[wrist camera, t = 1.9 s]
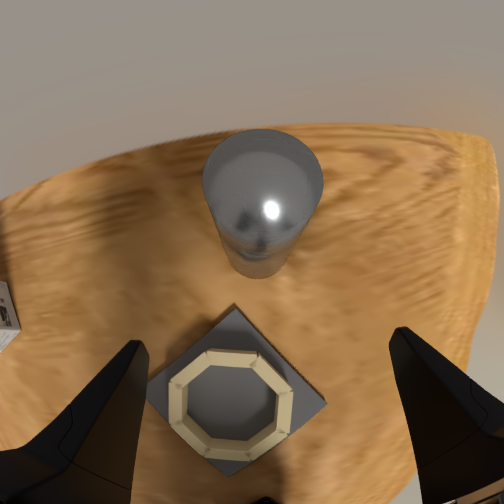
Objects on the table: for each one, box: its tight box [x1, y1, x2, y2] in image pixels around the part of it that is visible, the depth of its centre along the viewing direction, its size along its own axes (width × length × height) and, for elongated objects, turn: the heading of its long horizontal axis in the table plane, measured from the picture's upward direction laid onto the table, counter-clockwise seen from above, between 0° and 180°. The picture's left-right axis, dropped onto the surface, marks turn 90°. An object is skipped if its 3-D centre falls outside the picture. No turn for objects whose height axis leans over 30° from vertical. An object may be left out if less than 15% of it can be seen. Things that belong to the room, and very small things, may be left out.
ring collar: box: [146, 309, 327, 477], centre depth 18 cm, size 11×11×2 cm
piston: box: [202, 129, 323, 279], centre depth 17 cm, size 5×5×12 cm
